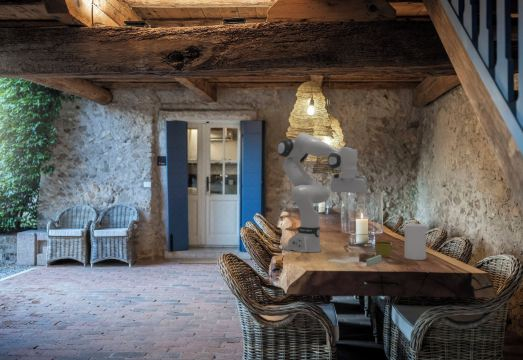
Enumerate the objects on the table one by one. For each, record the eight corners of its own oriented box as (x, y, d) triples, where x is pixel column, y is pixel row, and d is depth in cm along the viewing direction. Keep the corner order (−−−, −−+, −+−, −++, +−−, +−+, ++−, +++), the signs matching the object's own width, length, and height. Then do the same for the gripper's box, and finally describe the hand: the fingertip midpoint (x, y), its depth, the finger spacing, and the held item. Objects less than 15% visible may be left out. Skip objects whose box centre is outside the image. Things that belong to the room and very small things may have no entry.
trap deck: (326, 263, 235) (326, 255, 235) (341, 258, 250) (341, 250, 249) (368, 269, 223) (368, 260, 223) (381, 263, 237) (381, 255, 237)
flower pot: (391, 261, 245) (392, 244, 245) (374, 260, 247) (375, 243, 247) (390, 258, 254) (391, 241, 254) (374, 257, 256) (374, 241, 255)
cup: (426, 260, 248) (426, 226, 247) (404, 259, 251) (405, 225, 251) (425, 257, 258) (425, 224, 258) (404, 256, 261) (404, 223, 261)
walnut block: (359, 261, 234) (359, 253, 234) (363, 259, 239) (363, 252, 239) (370, 263, 231) (370, 255, 231) (374, 261, 236) (374, 253, 236)
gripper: (369, 175, 250) (368, 201, 250) (334, 175, 261) (334, 199, 261) (364, 175, 244) (364, 201, 245) (329, 175, 256) (329, 200, 256)
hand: (348, 200), depth 253 cm, fingers open, 8 cm apart
